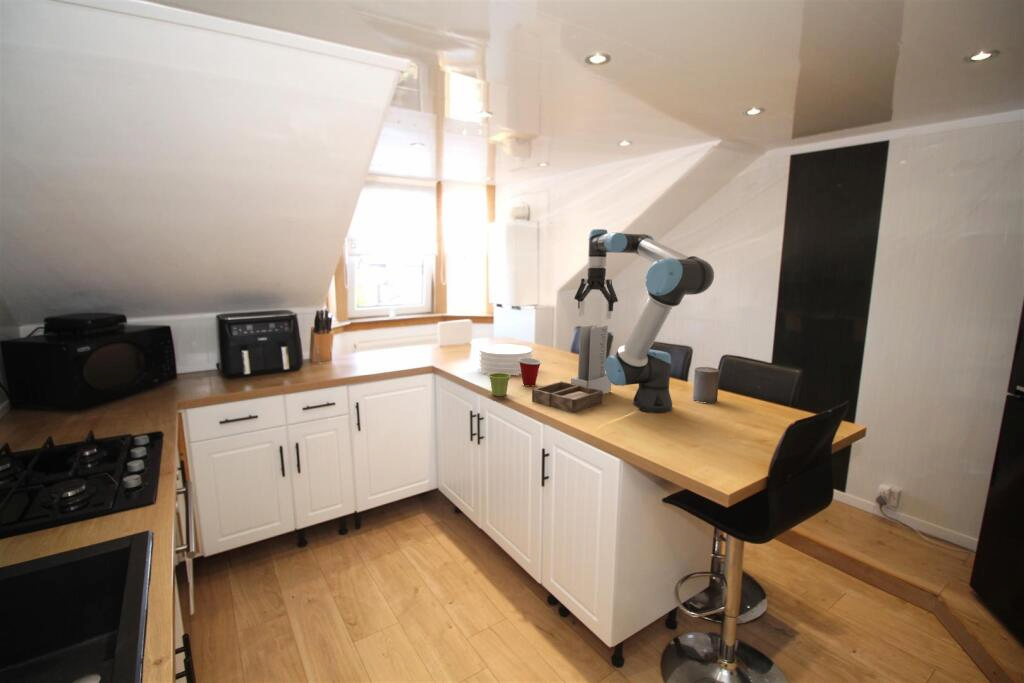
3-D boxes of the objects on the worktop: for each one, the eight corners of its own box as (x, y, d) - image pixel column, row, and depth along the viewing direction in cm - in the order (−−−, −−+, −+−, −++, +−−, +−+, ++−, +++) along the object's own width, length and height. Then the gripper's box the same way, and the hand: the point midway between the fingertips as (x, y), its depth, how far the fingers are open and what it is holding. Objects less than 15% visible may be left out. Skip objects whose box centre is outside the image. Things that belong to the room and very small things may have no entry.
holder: (610, 392, 205) (611, 374, 204) (587, 400, 192) (588, 381, 191) (594, 388, 211) (595, 371, 210) (570, 396, 198) (571, 378, 197)
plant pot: (487, 391, 203) (488, 372, 201) (509, 391, 204) (509, 372, 202) (489, 397, 193) (489, 377, 192) (511, 397, 194) (511, 377, 193)
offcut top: (594, 399, 184) (594, 395, 184) (571, 406, 175) (571, 401, 174) (579, 395, 190) (579, 391, 189) (556, 401, 180) (556, 396, 180)
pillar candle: (720, 400, 195) (722, 365, 192) (713, 405, 187) (716, 369, 185) (696, 396, 201) (699, 362, 198) (689, 401, 193) (691, 366, 191)
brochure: (588, 398, 194) (591, 328, 189) (577, 396, 198) (579, 327, 193) (604, 392, 205) (607, 325, 200) (593, 389, 208) (596, 324, 204)
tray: (602, 405, 185) (602, 390, 184) (573, 415, 172) (574, 400, 171) (560, 394, 200) (561, 381, 199) (532, 403, 186) (532, 389, 185)
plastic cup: (537, 388, 209) (538, 363, 207) (515, 386, 212) (515, 361, 210) (543, 383, 219) (544, 358, 217) (522, 381, 222) (522, 356, 220)
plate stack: (468, 370, 245) (468, 348, 243) (503, 362, 266) (503, 342, 264) (507, 378, 227) (508, 356, 225) (542, 369, 248) (542, 349, 246)
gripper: (627, 267, 186) (625, 319, 190) (577, 267, 203) (576, 314, 207) (618, 267, 181) (615, 320, 184) (567, 266, 198) (565, 315, 201)
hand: (594, 317), depth 196 cm, fingers open, 13 cm apart
